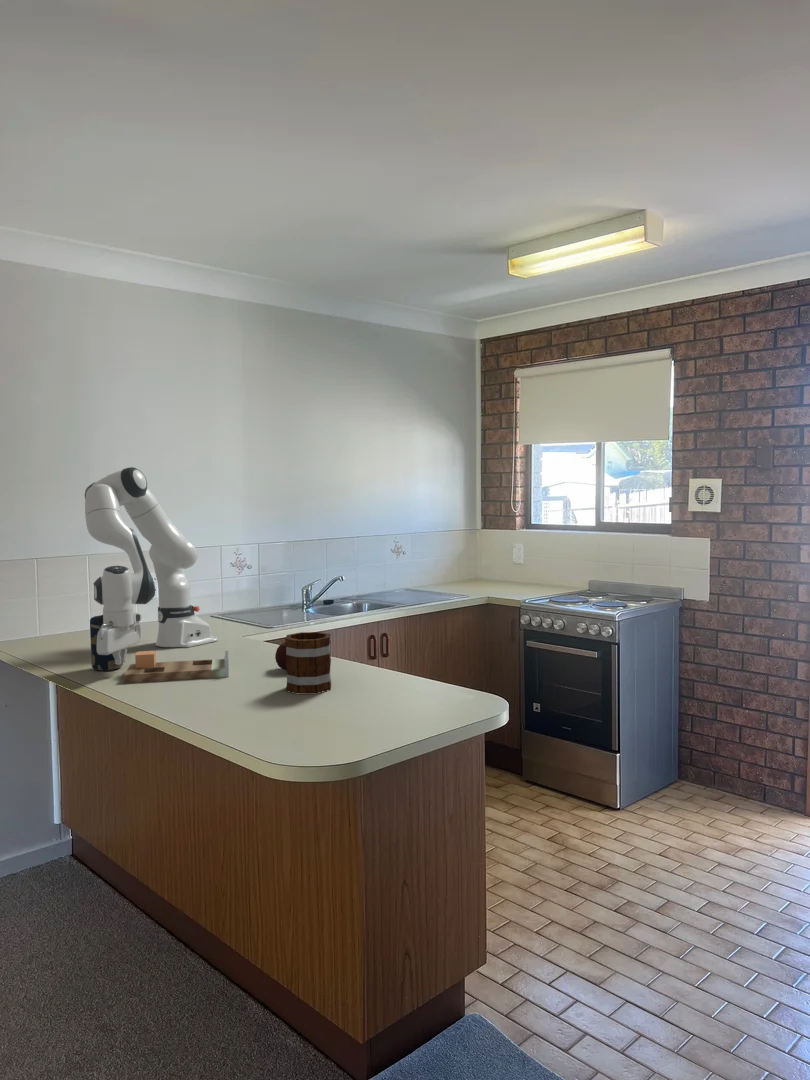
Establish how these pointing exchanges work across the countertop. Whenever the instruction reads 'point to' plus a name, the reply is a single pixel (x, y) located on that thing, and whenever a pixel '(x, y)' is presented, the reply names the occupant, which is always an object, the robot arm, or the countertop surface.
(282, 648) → the potato
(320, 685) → the mug
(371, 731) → the countertop surface
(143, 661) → the block
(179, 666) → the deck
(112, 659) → the canister
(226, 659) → the end stop
